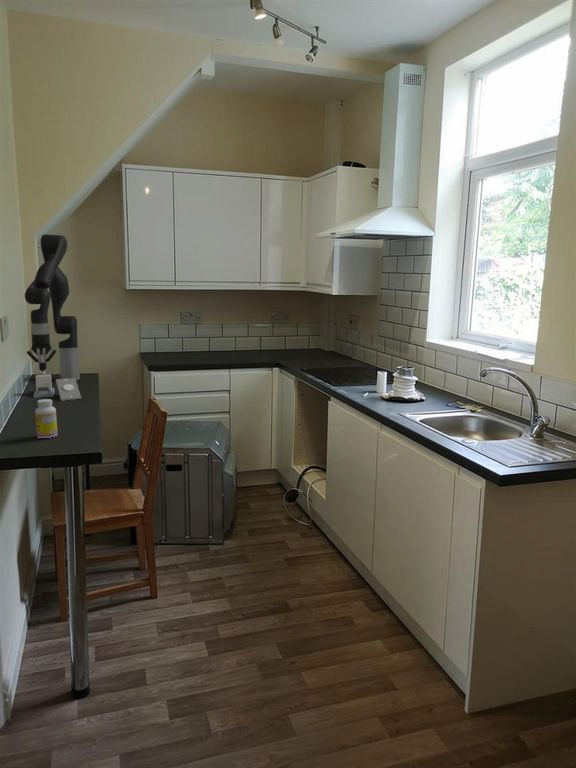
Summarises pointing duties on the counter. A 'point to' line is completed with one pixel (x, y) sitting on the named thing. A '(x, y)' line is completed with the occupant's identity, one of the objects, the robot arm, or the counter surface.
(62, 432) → the counter surface
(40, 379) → the block
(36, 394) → the plate
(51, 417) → the supplement bottle
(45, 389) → the din rail
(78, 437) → the counter surface
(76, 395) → the light switch
